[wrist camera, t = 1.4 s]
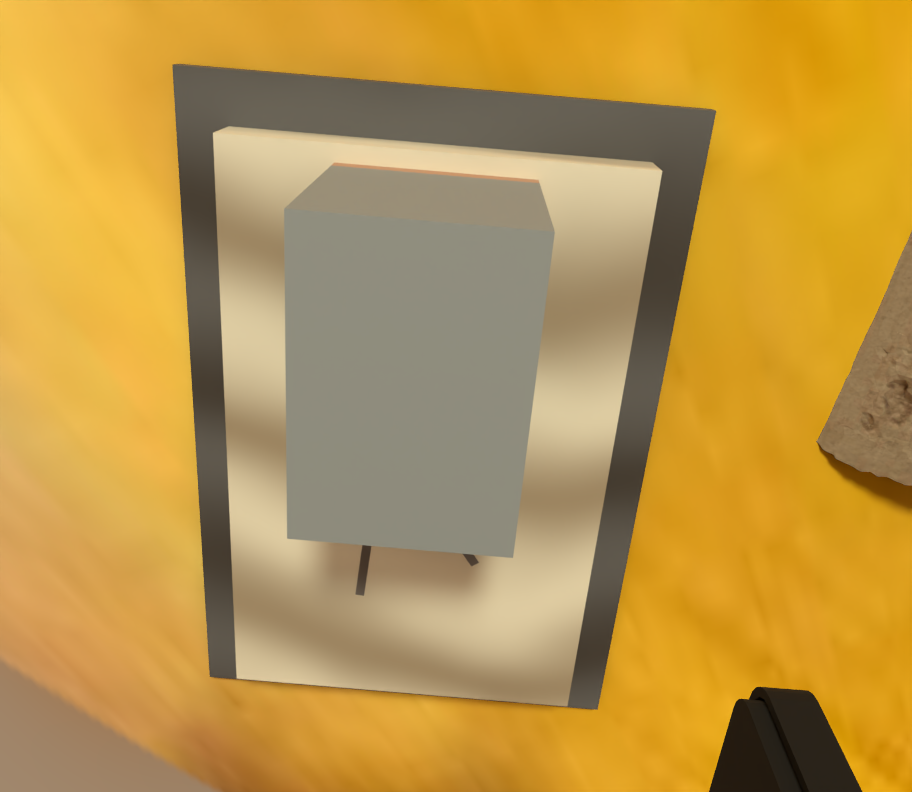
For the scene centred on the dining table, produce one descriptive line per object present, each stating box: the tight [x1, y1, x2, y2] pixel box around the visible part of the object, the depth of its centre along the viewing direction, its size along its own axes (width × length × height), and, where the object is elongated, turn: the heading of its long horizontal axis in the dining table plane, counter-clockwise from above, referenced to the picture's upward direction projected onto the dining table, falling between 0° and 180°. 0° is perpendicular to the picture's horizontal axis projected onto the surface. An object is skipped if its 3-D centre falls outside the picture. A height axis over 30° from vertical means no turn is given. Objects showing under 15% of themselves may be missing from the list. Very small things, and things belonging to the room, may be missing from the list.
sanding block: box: [284, 162, 555, 558], centre depth 21 cm, size 8×6×6 cm
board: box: [173, 64, 716, 709], centre depth 27 cm, size 22×15×2 cm
